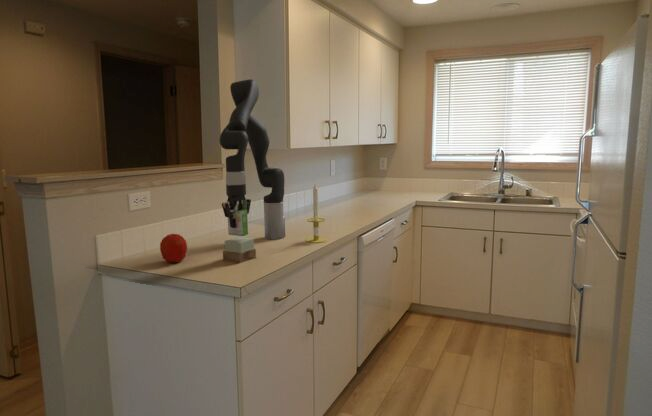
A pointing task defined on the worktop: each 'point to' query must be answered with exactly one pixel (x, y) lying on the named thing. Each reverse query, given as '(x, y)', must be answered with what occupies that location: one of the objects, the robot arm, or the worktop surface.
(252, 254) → the tower base
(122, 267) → the worktop surface
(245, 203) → the ink box
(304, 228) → the worktop surface
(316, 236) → the toy syringe
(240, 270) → the worktop surface
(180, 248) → the apple
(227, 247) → the tower top
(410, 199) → the worktop surface
